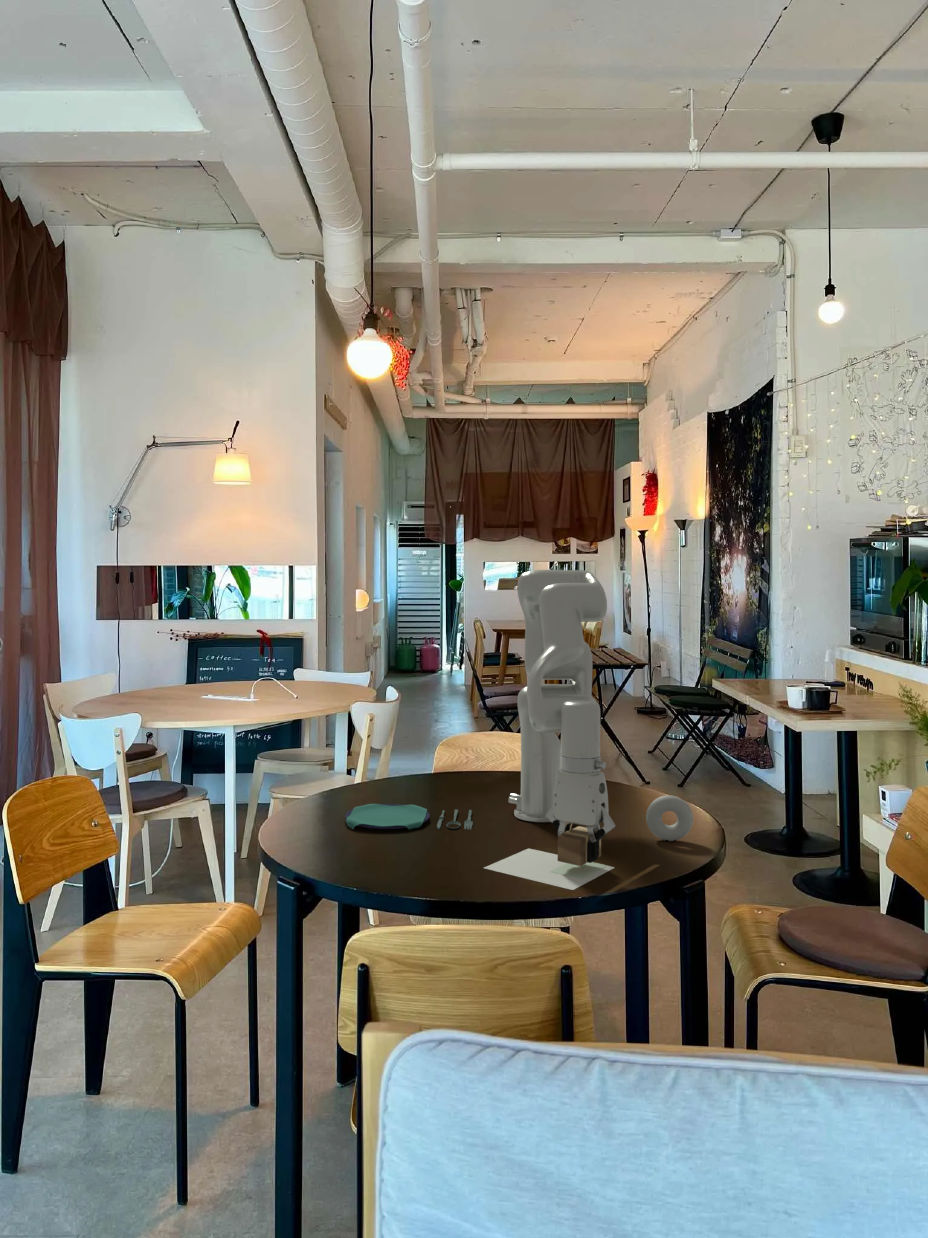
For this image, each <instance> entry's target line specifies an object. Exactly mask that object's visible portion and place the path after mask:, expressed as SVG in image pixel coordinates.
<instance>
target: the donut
mask: <svg viewBox="0 0 928 1238" xmlns="http://www.w3.org/2000/svg"><path fill="white" fill-rule="evenodd" d="M666 812H672V813H674V814H675V815H676V819H677V820H676V822H675V823H674V824H670V825H668V824H666V823H664V821H663V820H662V817H663V815H664V813H666ZM645 821H646V825H647V827H648V829H649V831H650V832H651V833H652V834H653V835H654V836H655V837H657V838H658V839H660V840H662V841H666V840H668V841H667V842H674V840H676V841H678V840H681V839H683V838H684V837H686V835H688V834H689V833H690V830H691V829H692V827H693V824H694V816H693V811H692V809H691V807H690V805H689V804H688V802H686V801H685V800H684V799H682V798H680V797H679V796H675V795H671V794H670V795H669V794H667V795H661V796H659V797H657V798H655V799H654V800H653V801H652V802H651V803H650V805H649V806H648V808H647V810H646V816H645Z"/></svg>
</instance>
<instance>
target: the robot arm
mask: <svg viewBox="0 0 928 1238" xmlns="http://www.w3.org/2000/svg"><path fill="white" fill-rule="evenodd" d="M517 598H518V601H519V604H520V607H521V610H522V613H523V618H524V622H525V625H524V626H525V628H524V629H525V630H524V631H525V632H524V669H525V673H526V674H527V676H528V678H527V684H526V686H525V687H523V688H522V689H520V690H519V692H518V694H517V711H518V718H519V725H520V728H519V729H520V794H519V793H518V794H517V793H509V797H508V801H507V802H508V803H509V804H515V805H516V808H515V809H514V811H513V814H514V816H515V818H516V819H519V820H522V821H526V822H533V823H552V825H553V827H554V828H555V830H557V836H558V835H559V834H562V833H564V832H566V831H569V830H571V829H572V826H573V825H578V826H582V827H586V828H587V830H588V835H589V839H590V841H589V842H588V843H587V862H588V863H592V862H594V863H595V861H598V859H599V858H600V857H599V840H600V839H601V840H602V838H603V837H605V836H606V835H607V834H608V833H609V832H611V831H612V830H613V829H615V828H616V824H615V822H614V820H613V819H612V817H611V816H610V814H609V812H610V811H609V795H608V794H609V793H608V787H607V781H606V776H605V773H604V772H602V771H601V770H605V769H606V767H607V766H606V765H607V764H606V761H602V760H601V759H602V758H601V707H600V704H599V703H598V702H597V700H596V698H594V696H592V695H593V694H592V690H593V689H592V687H593V656H592V655H593V654H592V651H591V647H590V645H589V644H588V643H587V642H586V641H585V640H584V634H583V633H584V631H583V625H582V624H583V623H598V622H602V621H603V620H604V618H605V617H606V614H607V611H608V610H607V609H608V601H607V595H606V592H605V589H604V587H603V585H602V584H601V582H600V581H599V579H598V578H597V577H596V576H595V575H594V573H592V572H591V571H588V570H582V569H580V570H579V569H573V570H572V569H567V570H566V569H536V570H535V569H534V570H529V571H525V572H523V573H521V574H520V576H519V577H518V580H517ZM542 680H544V681H545V680H548V681H549V680H553V681H555V680H561V681H565V680H569V681H571V684H569V683H567V684H566V683H565V684H563V683H562V684H561V683H559V684H555V683H542ZM556 733H560V739H559V737H558V736H557V734H556ZM600 824H603V827H601V826H600Z"/></svg>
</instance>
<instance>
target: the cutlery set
mask: <svg viewBox="0 0 928 1238" xmlns="http://www.w3.org/2000/svg"><path fill="white" fill-rule="evenodd" d="M445 813H446V810H444V809H442V812H441V815H439V817H438V821H437V824H436V828H437V830H441V827H442V823H443V822H444V820H445V816H444V815H445ZM458 813H459V809H454V813H453V820H451V821H448V822H447V823H446V824H445V825H446V827H447V828H448V829H451V830H456V829H459V828H460V827H461V823H460V822H459V821H456V820H457V816H458ZM472 813H473V810H472V809H469V810H468V815H467V819H466V820H464V822H463V825H464V831H466V830H467V831H469V830H470V831H471V830H472V827H473V825H474V823H473V821H472ZM430 817H431V816H430V813H429V811H428V809H427V808H425V807H422V806H419V805H416V804H399V803H397V804H396V803H367V804H364V805H357V806H355V807H353V809H350V810H348V811H347V812H346V813H345V817H344V818H345V820H346V821H345V822H346V825H347V827H348V828H350V829H351V828H352V829H351V830H353V829H355V827H356V826H358V827H361V828H366V829H378V830H379V829H380V830H398V829H404V828H405V829H408V830H412V829H418V828H420V827H421V826H422V825H423V824H425V823H426V822H428V820H429V819H430ZM449 825H457V827H449Z"/></svg>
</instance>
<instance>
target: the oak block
mask: <svg viewBox="0 0 928 1238" xmlns="http://www.w3.org/2000/svg"><path fill="white" fill-rule="evenodd" d="M589 841H590V839H589V835H588V830H587V827H586V826H581V825H578V826H576V827H574V828H571V830H569V831H566V832H564V833H562V834H559V835H558V834H557V855H558V861H559V862H564V863H568V864H573V865H577V866H582V865H584V864H586V863H588V862H587V843H588V842H589ZM600 857H602V839H600V840H599V857H598V858H600Z"/></svg>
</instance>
